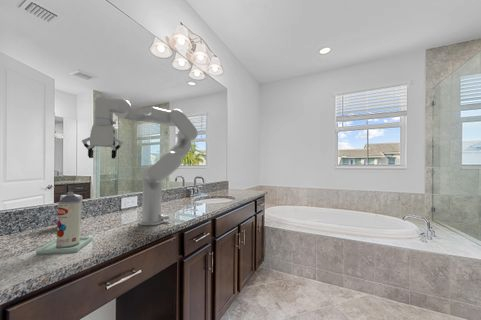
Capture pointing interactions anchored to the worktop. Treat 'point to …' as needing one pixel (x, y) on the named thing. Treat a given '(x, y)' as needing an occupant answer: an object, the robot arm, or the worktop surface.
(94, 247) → the worktop surface
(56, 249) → the tray
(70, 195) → the aerosol can
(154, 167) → the robot arm
